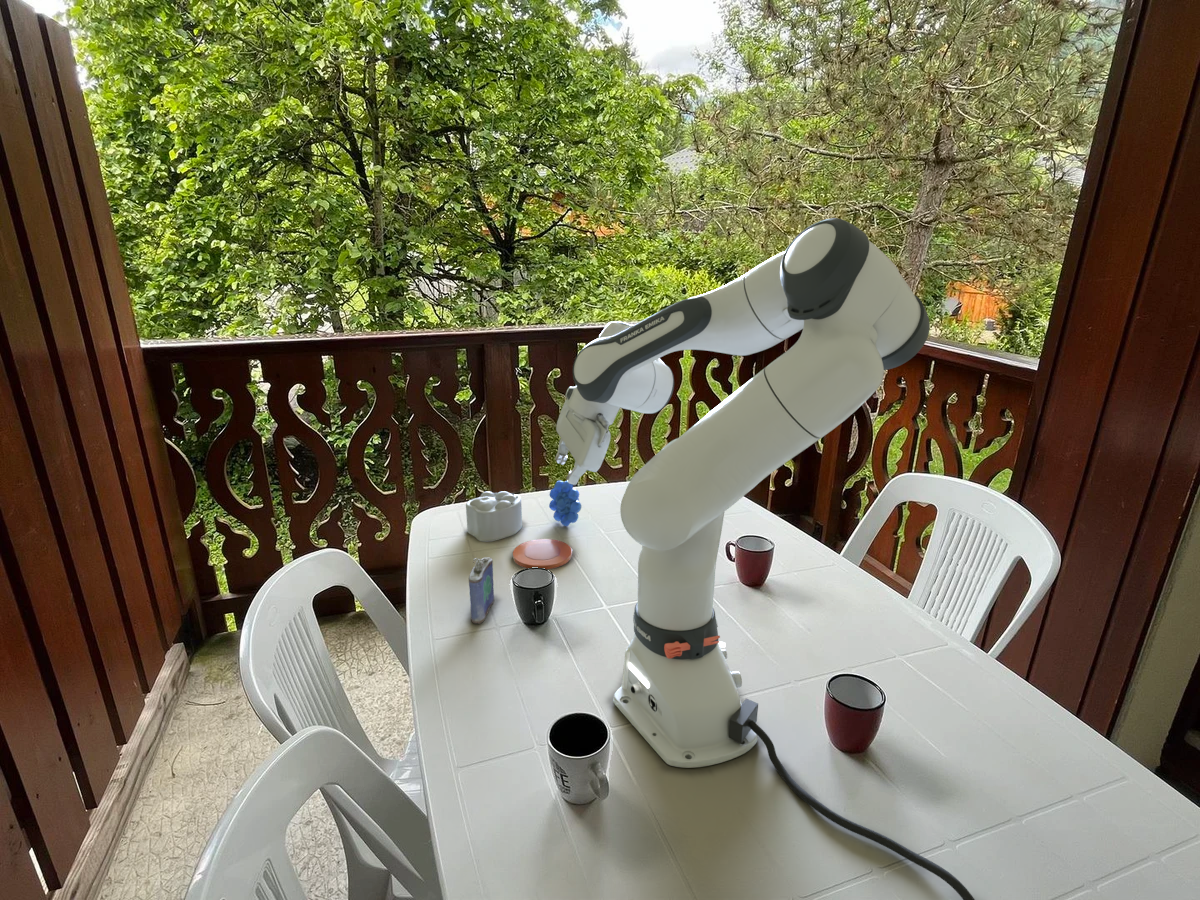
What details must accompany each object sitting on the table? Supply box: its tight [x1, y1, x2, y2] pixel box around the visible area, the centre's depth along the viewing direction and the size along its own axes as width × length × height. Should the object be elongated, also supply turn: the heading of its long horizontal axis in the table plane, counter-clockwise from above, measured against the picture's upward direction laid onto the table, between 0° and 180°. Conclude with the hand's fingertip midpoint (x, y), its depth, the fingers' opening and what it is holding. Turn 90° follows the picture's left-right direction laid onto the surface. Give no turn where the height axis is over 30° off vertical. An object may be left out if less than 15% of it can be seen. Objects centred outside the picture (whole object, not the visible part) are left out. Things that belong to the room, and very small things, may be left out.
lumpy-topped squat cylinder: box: [465, 490, 523, 543], centre depth 152 cm, size 10×13×9 cm
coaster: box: [512, 538, 573, 570], centre depth 140 cm, size 13×13×1 cm
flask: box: [468, 556, 495, 625], centre depth 118 cm, size 9×3×11 cm, turn 173°
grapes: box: [548, 480, 582, 527], centre depth 154 cm, size 12×7×12 cm, turn 40°
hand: (564, 472), depth 120 cm, fingers open, 8 cm apart
